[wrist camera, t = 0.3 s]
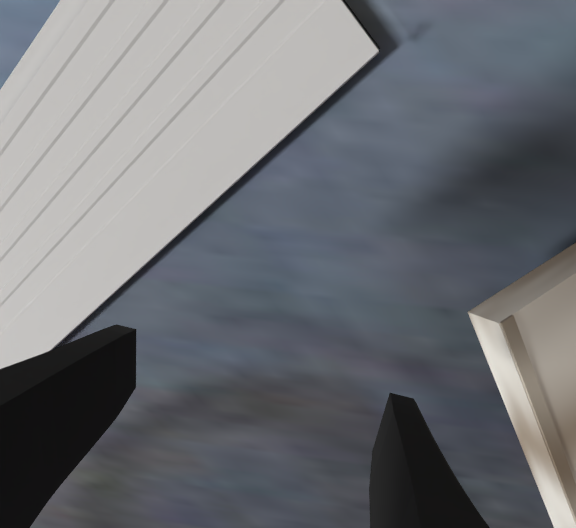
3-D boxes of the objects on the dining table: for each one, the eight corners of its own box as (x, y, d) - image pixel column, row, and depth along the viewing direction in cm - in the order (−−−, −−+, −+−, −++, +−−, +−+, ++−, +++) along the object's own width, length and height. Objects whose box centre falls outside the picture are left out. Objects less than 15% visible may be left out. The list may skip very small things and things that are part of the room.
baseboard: (-133, 258, 27) (8, 390, 29) (-188, 276, 24) (-29, 419, 26) (177, -224, 15) (381, 52, 17) (134, -291, 13) (381, 45, 15)
